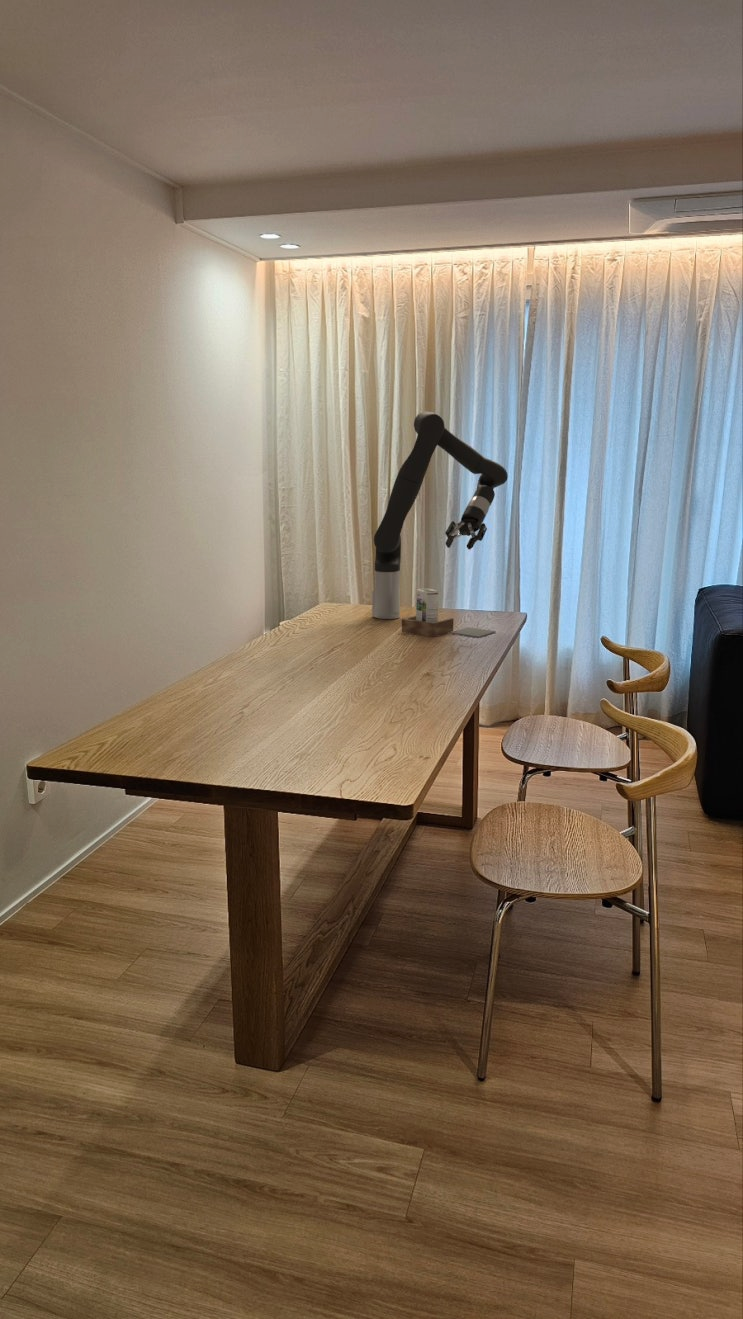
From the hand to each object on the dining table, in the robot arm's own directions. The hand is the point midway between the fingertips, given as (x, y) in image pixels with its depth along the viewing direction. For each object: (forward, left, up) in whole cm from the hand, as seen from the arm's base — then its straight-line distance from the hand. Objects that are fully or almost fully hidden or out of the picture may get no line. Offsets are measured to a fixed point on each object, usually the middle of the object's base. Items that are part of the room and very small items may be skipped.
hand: (457, 547), depth 322 cm
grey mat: (+14, -11, -27) cm, 32 cm away
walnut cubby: (0, -18, -27) cm, 33 cm away
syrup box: (0, -19, -27) cm, 33 cm away
